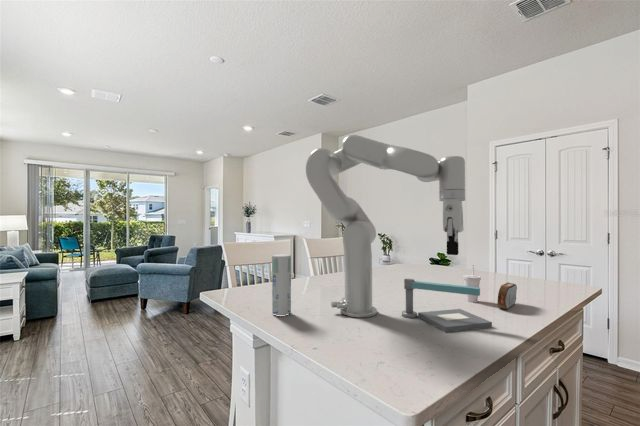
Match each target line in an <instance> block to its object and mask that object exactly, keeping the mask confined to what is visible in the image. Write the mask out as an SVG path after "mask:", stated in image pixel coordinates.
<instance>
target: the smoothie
mask: <svg viewBox="0 0 640 426" xmlns="http://www.w3.org/2000/svg"><path fill="white" fill-rule="evenodd" d="M471 267H472V271H471V272H472V273H471V274H463V275H462V279H463V283H464V286H470V287H480V282H481V280H482V277H481V276H479V275H475V265H474V264H472V266H471ZM465 297H466V301H467V302H468V303H478V300H479V296H476V295H467V294H465Z"/></svg>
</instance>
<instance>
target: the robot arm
mask: <svg viewBox="0 0 640 426" xmlns="http://www.w3.org/2000/svg"><path fill="white" fill-rule="evenodd" d="M340 147H341V148H340V149H338V150H337V151H334V152H333V151H332V150H330V149H327V148H322V147H321V148H316V149H314V150H313V151H312V152H311V153H310V154H309V156H308V158H307V159H306V164H305V175H306V178H307V181H308V183H309V186H310V187H311V188H312V190H313V191H314V193H315V194H316V196H317V198H318V200H319V201H320V202H321V204H322V206H323V207H324V208H325V210H326V211H327V213H328V215H329V216H330V218H331V219H332V220H333V221H334V222H337V223H341V224H342V225H343V227H344V230H343V232H342V244H343V254H344V255H343V256H344V258H343V259H344V267H343V268H344V297H341V300H339V301H331V302H330V305H331V308H337V310H338V309H339V310H340V311H339V312H340V313H341V314H342V315H344V316H346V315H347V317H351V318H369V317H374V316H375V315H376V314H377V313H378V308H376V306H373V253H372V243H373V242H374V241H375V239H376V236H377V230H376V227H375V226H374V224H373V222H372V221H371V220H370V217H368V215H367V214H366V212H365V211H364V210H363V208H362V207H361V206H360V203H358V202H357V201H356V200H355V199H354V198H351V197H349V196H347V194H345V192H344V191H343V190H342V189H341V187H340V185H339V184H338V182H337V181H336V179H334V178H333V176H337V175H339V174H342V173H343V172H345V171H349V169H352V168H354V167H357V166H358V165H360V164H365V165H367V166H371V167H374V168H376V169H380V170H392V171H393V170H394V171H396V172H401V173H405V174H407V175H409V176H410V175H411V176H414V177H416V178H417V179H418V180H419V181H420V182H423V183H430V182H436V181H437V182H438V181H439V183H438V185H439V187H438V189H439V191H438V193H439V194H438V195H439V197H438V198H439V202H442V230H443V231H444V232H445V233H446V255H450V256H458V255H459V233H462V232H463V231H464V215H463V214H464V210H463V202H465V201H466V160H465V159H464V157H462V156H459V155H449V156H445V157H442V158H441V159H439V160H438V159H437V158H436V157H435V156H433V155H431V154H429V153H425V152H423V151H419V150H415V149H412V148H408V147H404V146H397V145H393V144H388V143H385V142H382V141H378V140H374V139H371V138H369V137H368V138H367V137H365V136H360V135H356V134H350V135H347V136H346V137H345V138H344V139H343V140H342V142H341V146H340Z"/></svg>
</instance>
